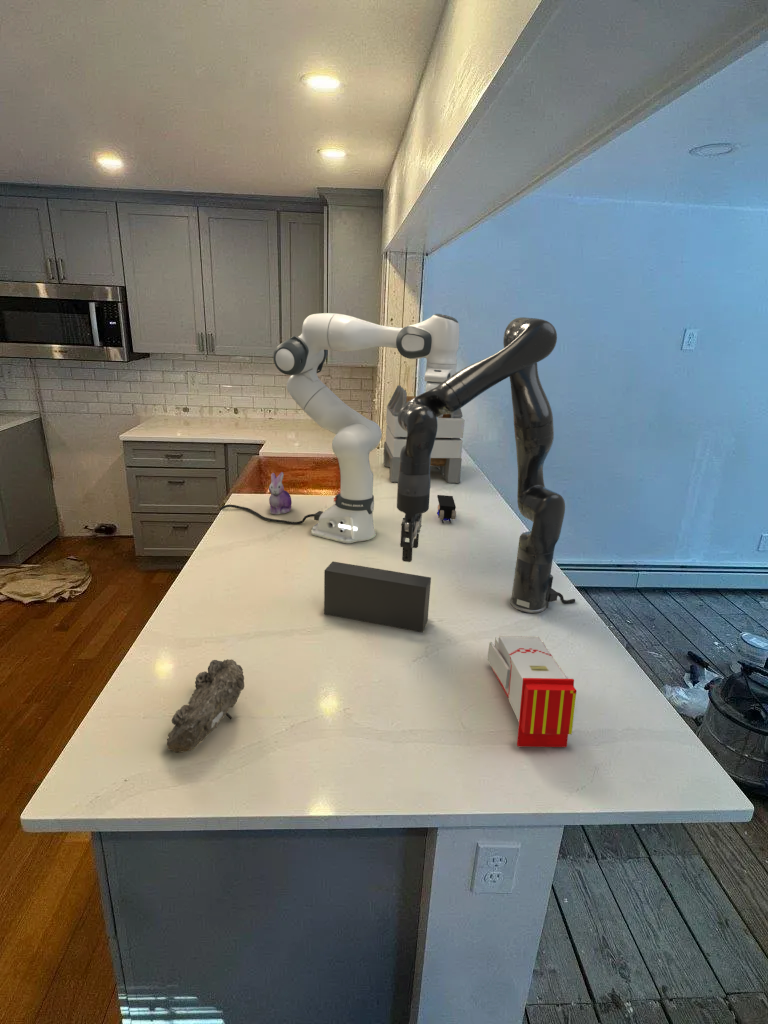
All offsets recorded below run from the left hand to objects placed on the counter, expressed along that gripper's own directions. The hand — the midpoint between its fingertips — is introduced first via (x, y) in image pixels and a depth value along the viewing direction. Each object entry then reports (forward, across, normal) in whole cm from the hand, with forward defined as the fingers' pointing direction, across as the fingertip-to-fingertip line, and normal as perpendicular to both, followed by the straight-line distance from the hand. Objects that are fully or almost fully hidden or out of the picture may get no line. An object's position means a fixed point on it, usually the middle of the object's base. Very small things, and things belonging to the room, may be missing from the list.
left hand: (436, 420), depth 171 cm
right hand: (+24, +46, +4) cm, 52 cm away
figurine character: (+44, -34, +1) cm, 55 cm away
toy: (+43, +67, +34) cm, 87 cm away
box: (+44, +45, -4) cm, 63 cm away
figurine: (+45, -18, -60) cm, 77 cm away
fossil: (+44, +91, -23) cm, 104 cm away
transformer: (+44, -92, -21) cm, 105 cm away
